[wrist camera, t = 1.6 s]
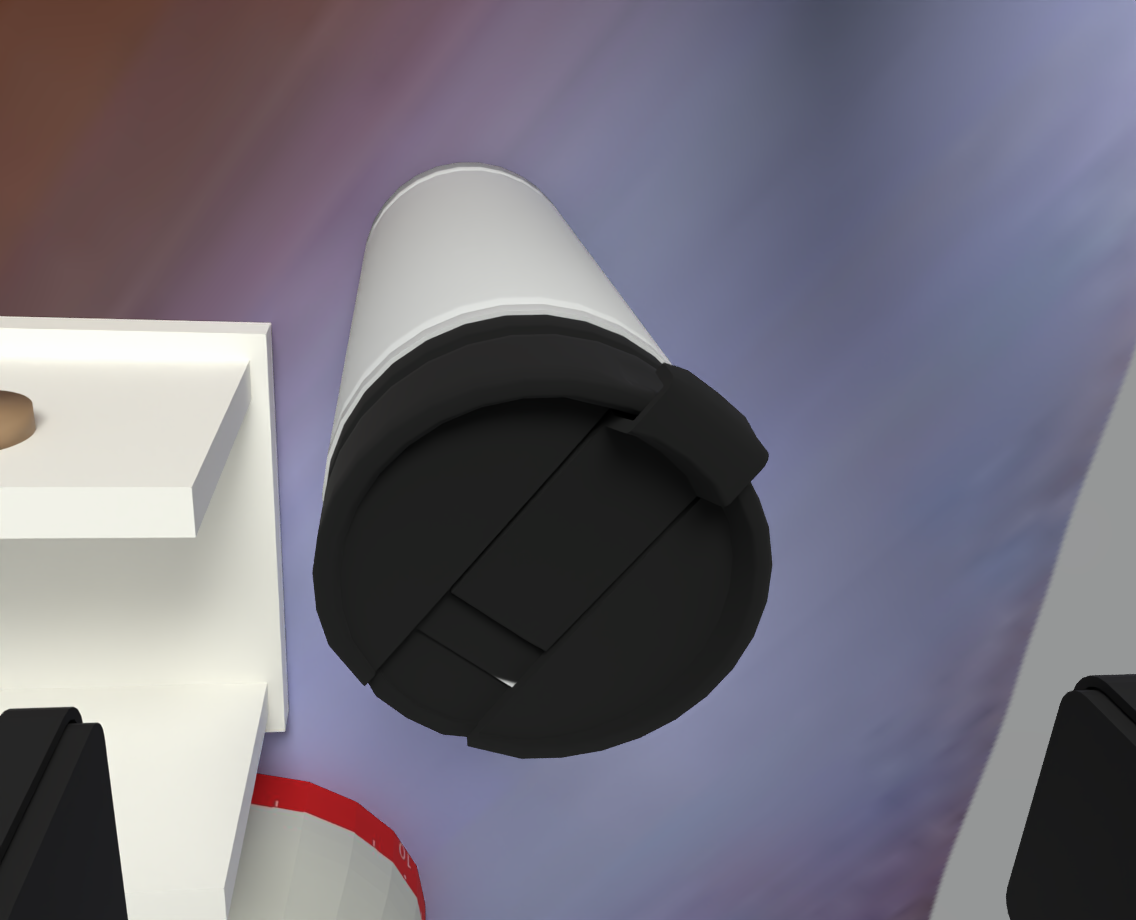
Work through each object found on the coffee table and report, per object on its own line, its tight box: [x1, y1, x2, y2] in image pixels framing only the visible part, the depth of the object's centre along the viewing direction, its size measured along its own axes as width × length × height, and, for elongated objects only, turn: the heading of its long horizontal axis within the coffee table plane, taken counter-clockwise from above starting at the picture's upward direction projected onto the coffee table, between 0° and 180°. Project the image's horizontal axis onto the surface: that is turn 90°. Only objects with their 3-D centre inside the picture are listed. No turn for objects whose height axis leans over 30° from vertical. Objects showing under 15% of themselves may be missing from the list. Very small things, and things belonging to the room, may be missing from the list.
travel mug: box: [313, 162, 772, 759], centre depth 23 cm, size 6×7×20 cm
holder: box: [0, 316, 289, 920], centre depth 29 cm, size 14×12×10 cm
